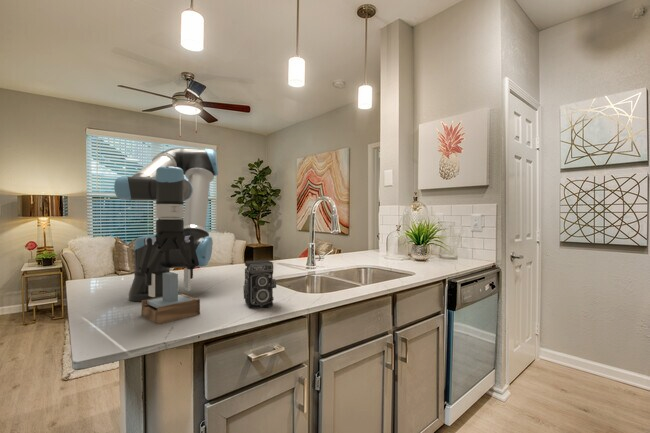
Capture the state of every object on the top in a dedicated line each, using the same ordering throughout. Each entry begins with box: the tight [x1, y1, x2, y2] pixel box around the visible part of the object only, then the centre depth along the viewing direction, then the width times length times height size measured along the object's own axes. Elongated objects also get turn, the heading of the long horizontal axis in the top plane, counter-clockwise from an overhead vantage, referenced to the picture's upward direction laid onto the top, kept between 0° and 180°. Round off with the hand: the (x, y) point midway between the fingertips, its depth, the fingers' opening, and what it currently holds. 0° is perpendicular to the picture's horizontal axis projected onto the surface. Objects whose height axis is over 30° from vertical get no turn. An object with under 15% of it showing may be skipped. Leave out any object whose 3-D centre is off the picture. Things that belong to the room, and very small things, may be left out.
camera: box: [242, 259, 277, 309], centre depth 106 cm, size 10×10×15 cm
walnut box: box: [141, 292, 201, 325], centre depth 96 cm, size 12×12×5 cm
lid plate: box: [147, 271, 193, 308], centre depth 96 cm, size 10×9×9 cm
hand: (170, 292), depth 96 cm, fingers open, 10 cm apart
